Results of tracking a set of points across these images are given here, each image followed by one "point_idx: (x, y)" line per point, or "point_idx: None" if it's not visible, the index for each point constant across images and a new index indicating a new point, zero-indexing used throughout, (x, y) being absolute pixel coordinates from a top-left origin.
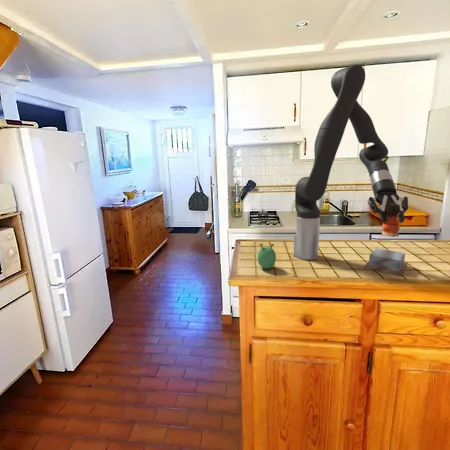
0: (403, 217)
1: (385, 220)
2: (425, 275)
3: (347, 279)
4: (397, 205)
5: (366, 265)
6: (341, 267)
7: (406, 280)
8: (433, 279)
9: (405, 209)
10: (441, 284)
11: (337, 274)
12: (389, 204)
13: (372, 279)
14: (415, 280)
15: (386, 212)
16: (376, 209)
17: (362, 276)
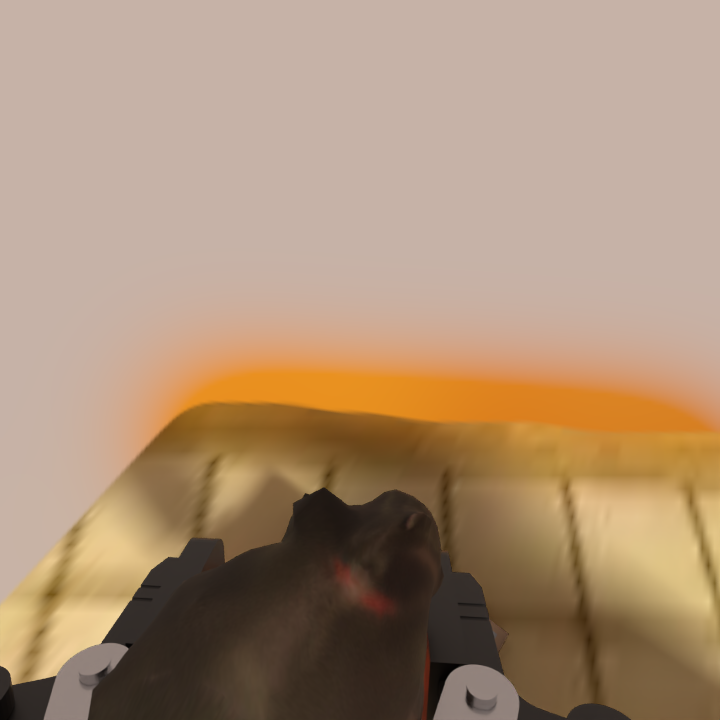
0: (178, 558)
1: (445, 554)
2: (192, 514)
3: (641, 460)
4: (197, 602)
5: (499, 632)
6: (663, 660)
7: (336, 449)
8: (192, 461)
9: (10, 677)
10: (200, 406)
11: (694, 530)
12: (358, 662)
13: (507, 461)
14: (291, 449)
15: (441, 571)
16: (616, 712)
17: (551, 500)
